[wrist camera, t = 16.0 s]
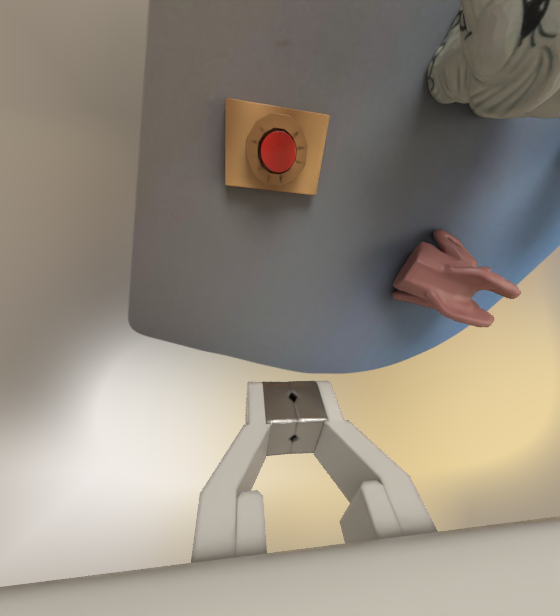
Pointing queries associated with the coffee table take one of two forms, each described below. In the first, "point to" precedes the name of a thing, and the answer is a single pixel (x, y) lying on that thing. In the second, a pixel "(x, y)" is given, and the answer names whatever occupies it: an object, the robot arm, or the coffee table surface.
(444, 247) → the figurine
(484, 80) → the teapot
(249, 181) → the button block
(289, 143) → the button
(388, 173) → the coffee table surface
